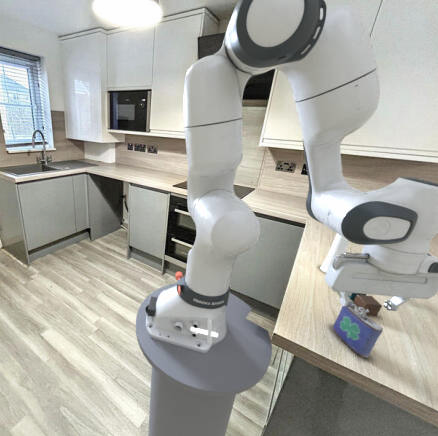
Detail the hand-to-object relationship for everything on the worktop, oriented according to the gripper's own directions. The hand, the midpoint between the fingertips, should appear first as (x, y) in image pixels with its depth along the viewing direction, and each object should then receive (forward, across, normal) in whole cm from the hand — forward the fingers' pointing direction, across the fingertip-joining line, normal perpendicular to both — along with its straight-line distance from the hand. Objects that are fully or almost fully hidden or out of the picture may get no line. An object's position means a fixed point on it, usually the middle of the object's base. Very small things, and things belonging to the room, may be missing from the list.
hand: (366, 306), depth 54 cm
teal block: (+12, +11, +18) cm, 24 cm away
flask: (+11, 0, 0) cm, 11 cm away
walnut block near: (+12, +12, +12) cm, 21 cm away
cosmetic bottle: (+12, +13, +33) cm, 37 cm away
